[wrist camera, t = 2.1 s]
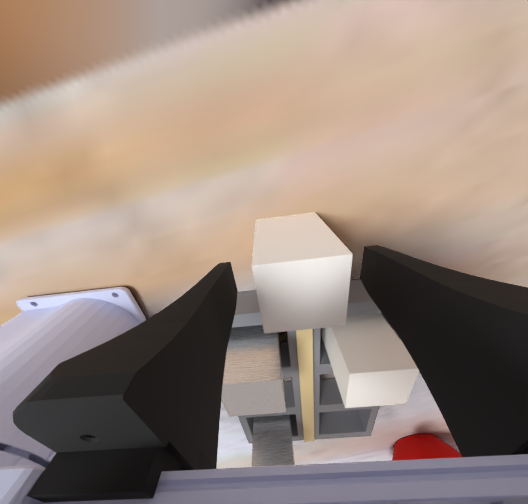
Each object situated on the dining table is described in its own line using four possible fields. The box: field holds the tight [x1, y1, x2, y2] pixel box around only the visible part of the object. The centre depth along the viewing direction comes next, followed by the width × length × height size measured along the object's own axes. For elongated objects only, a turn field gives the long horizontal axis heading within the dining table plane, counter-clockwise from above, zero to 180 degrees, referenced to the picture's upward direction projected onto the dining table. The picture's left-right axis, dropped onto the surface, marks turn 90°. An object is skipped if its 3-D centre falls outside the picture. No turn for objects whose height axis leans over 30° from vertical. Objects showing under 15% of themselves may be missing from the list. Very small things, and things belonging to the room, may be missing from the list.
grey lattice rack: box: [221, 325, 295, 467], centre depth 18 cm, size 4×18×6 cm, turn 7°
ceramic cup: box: [393, 434, 462, 461], centre depth 25 cm, size 13×17×10 cm
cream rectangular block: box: [251, 212, 353, 333], centre depth 11 cm, size 4×4×6 cm
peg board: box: [232, 279, 400, 443], centre depth 19 cm, size 15×22×3 cm
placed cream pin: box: [321, 313, 420, 408], centre depth 14 cm, size 4×4×6 cm
